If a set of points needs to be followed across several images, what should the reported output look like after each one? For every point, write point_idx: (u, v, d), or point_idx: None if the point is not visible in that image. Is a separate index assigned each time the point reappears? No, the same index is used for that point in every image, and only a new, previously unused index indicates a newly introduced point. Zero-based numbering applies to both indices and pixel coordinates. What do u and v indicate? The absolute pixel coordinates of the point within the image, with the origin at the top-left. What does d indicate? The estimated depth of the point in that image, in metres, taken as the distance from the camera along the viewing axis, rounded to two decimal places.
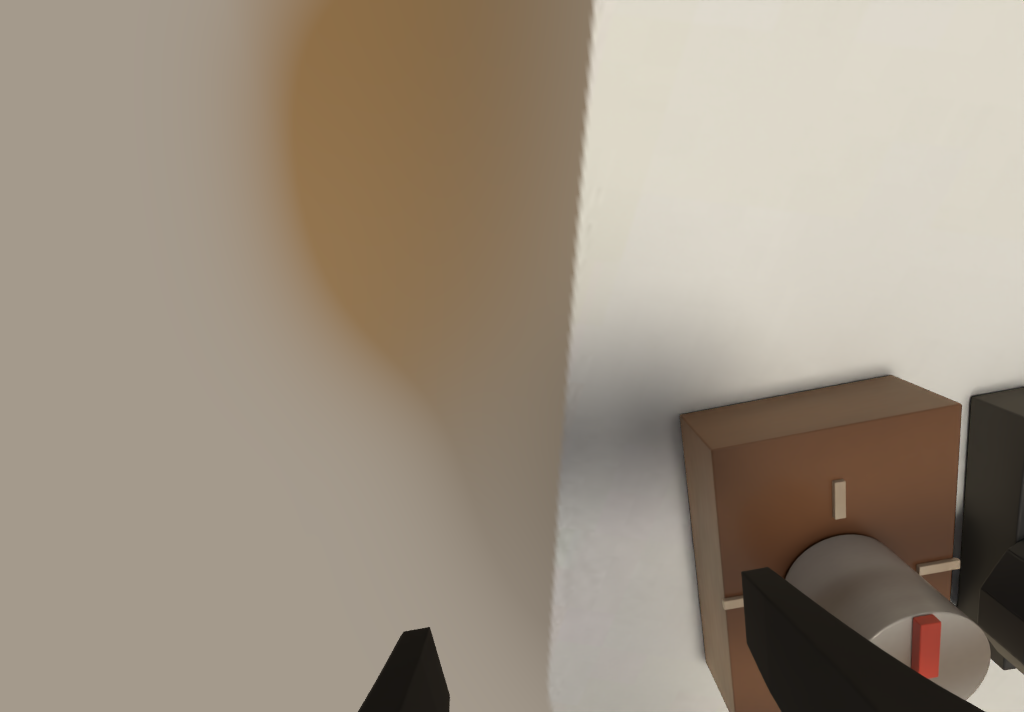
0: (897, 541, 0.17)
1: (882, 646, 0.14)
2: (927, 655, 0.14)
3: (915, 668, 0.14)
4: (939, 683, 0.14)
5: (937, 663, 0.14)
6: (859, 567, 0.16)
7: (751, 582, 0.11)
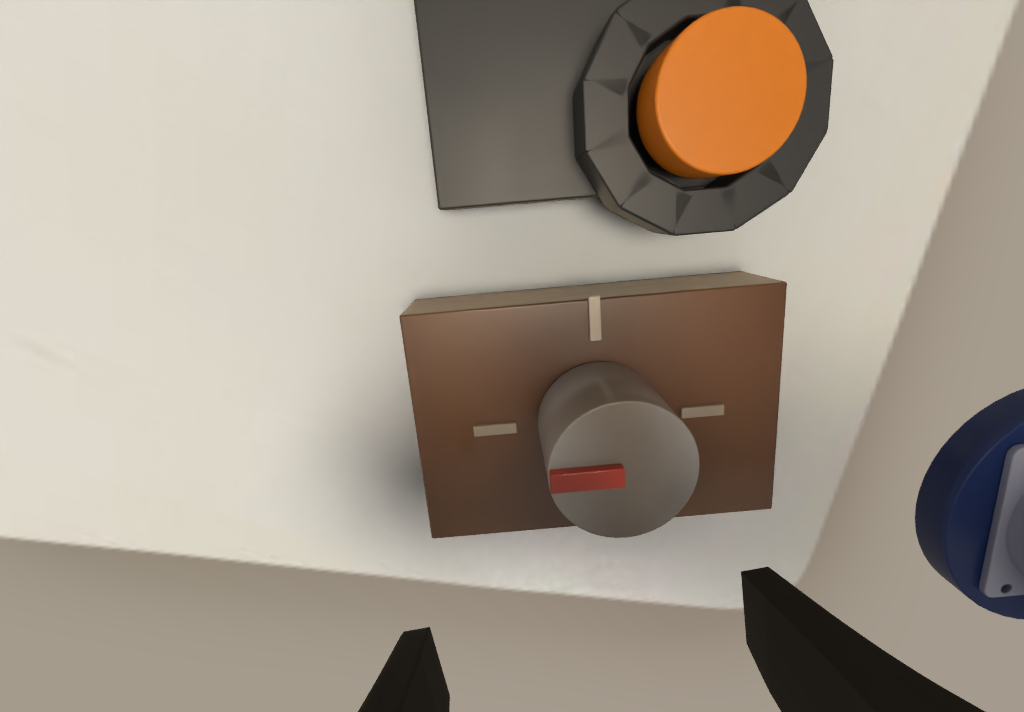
0: (556, 362, 0.16)
1: (582, 512, 0.13)
2: (592, 483, 0.13)
3: (612, 486, 0.13)
4: (646, 450, 0.13)
5: (605, 472, 0.13)
6: None
7: (751, 582, 0.11)
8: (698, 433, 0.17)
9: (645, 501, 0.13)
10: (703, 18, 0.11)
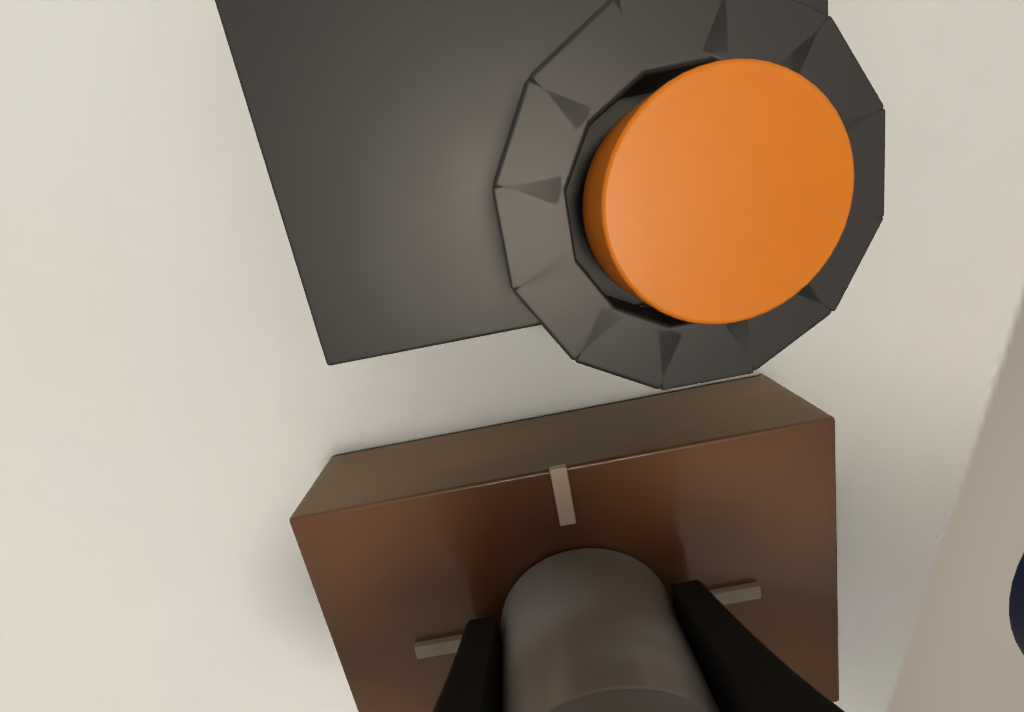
0: (516, 555, 0.11)
1: None
2: None
3: None
4: None
5: None
6: None
7: (677, 595, 0.11)
8: None
9: None
10: (668, 87, 0.07)
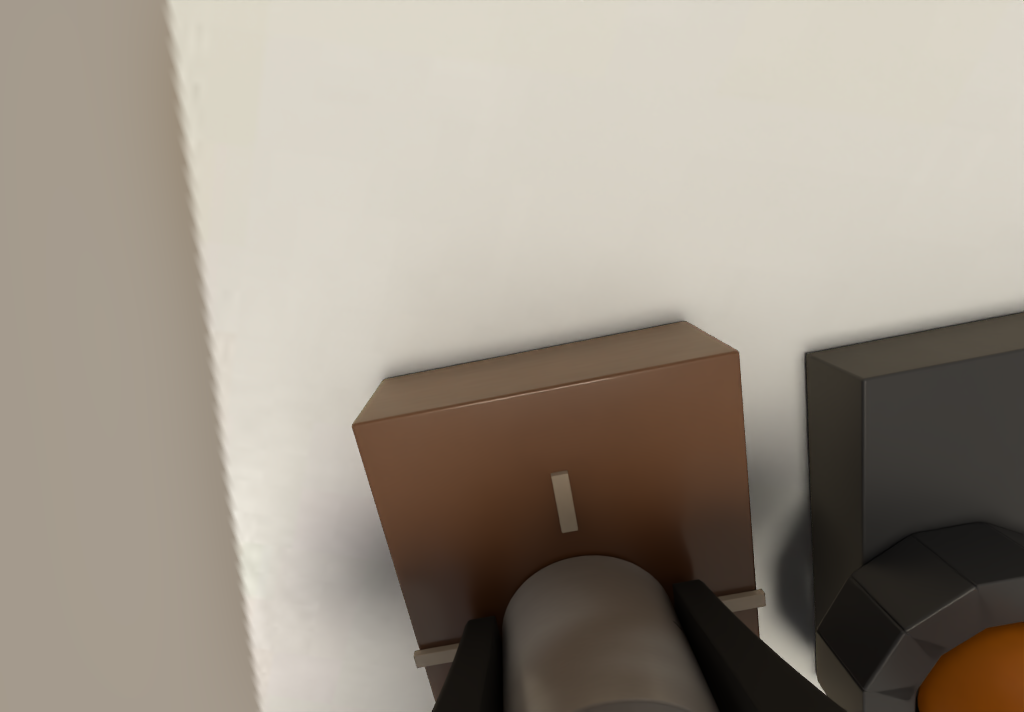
0: (668, 565, 0.11)
1: None
2: None
3: None
4: None
5: None
6: None
7: (679, 595, 0.11)
8: None
9: None
10: None
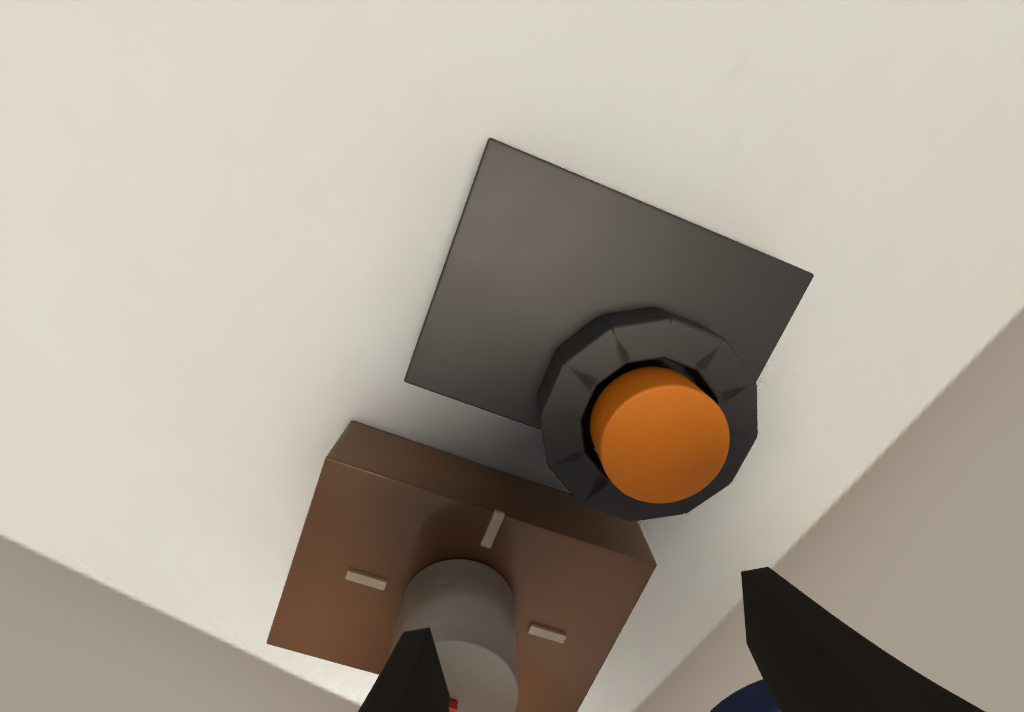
0: (444, 548, 0.17)
1: None
2: None
3: None
4: None
5: None
6: None
7: (751, 582, 0.11)
8: (536, 648, 0.19)
9: (486, 690, 0.15)
10: (668, 387, 0.13)
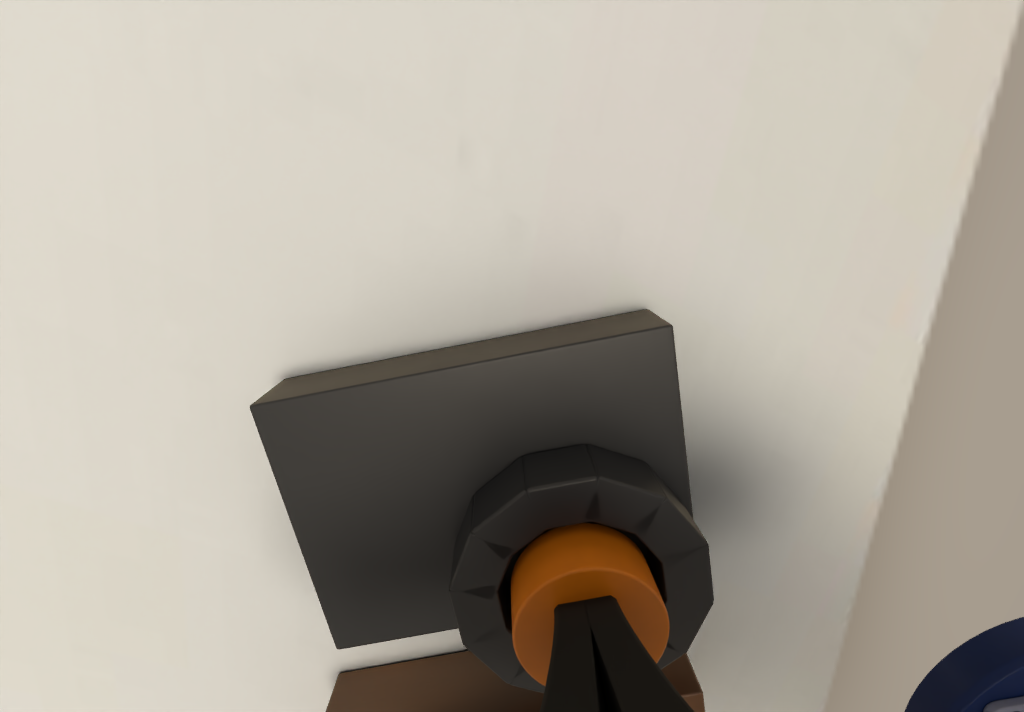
0: None
1: None
2: None
3: None
4: None
5: None
6: None
7: (587, 611, 0.11)
8: None
9: None
10: (549, 582, 0.11)
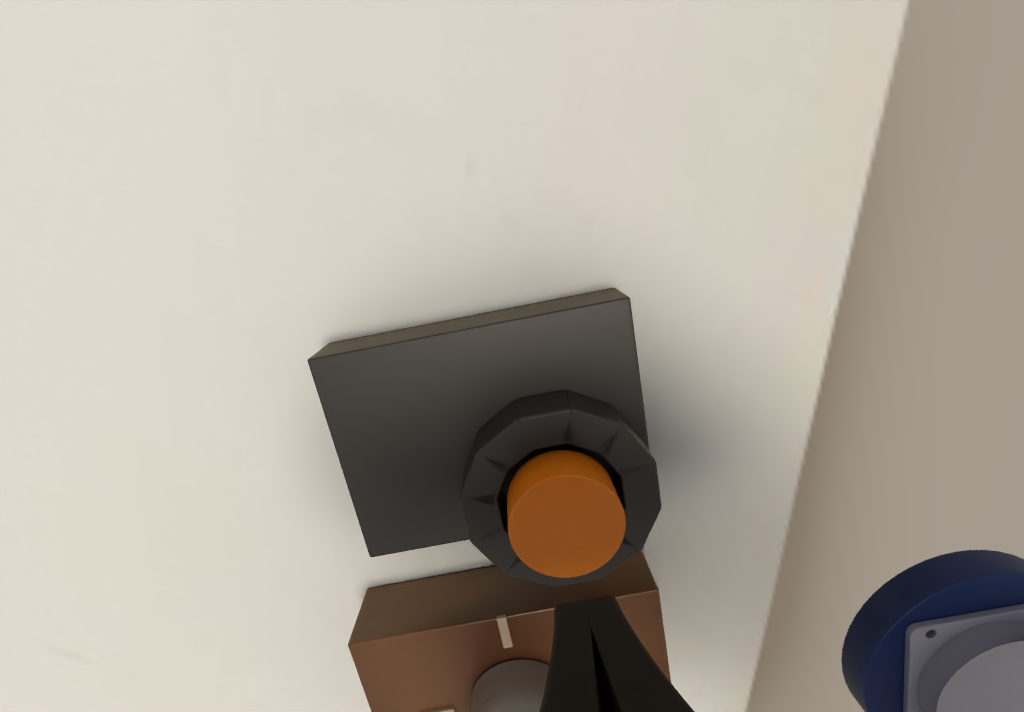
0: (479, 663, 0.20)
1: None
2: None
3: None
4: None
5: None
6: None
7: (587, 611, 0.11)
8: None
9: None
10: (535, 486, 0.15)
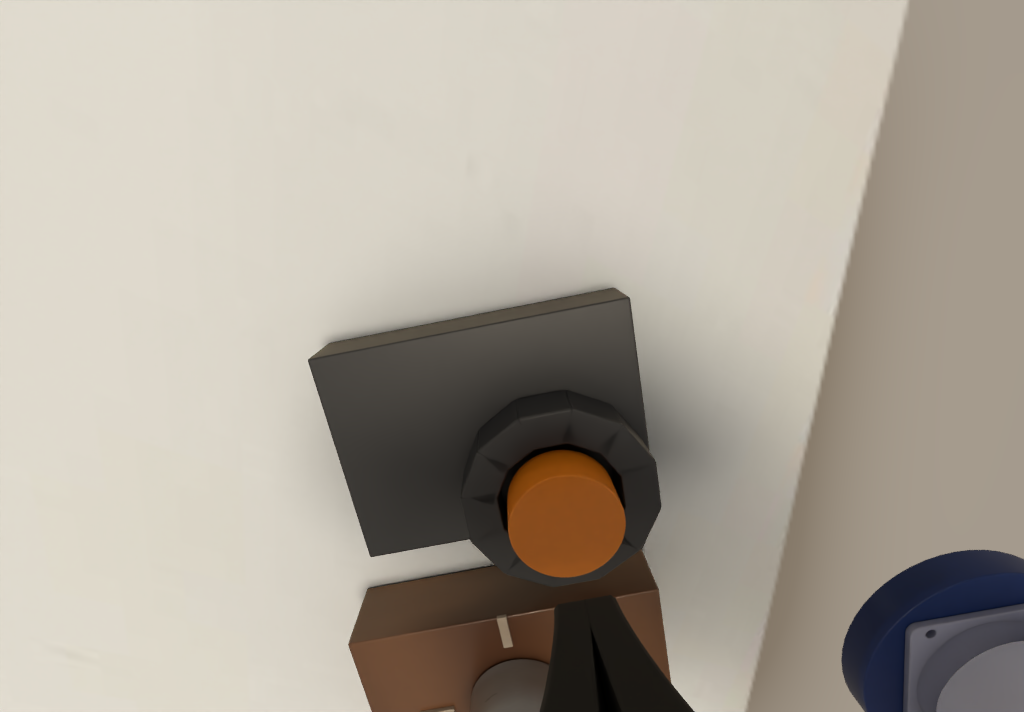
0: (479, 662, 0.20)
1: None
2: None
3: None
4: None
5: None
6: None
7: (587, 611, 0.11)
8: None
9: None
10: (535, 486, 0.15)
